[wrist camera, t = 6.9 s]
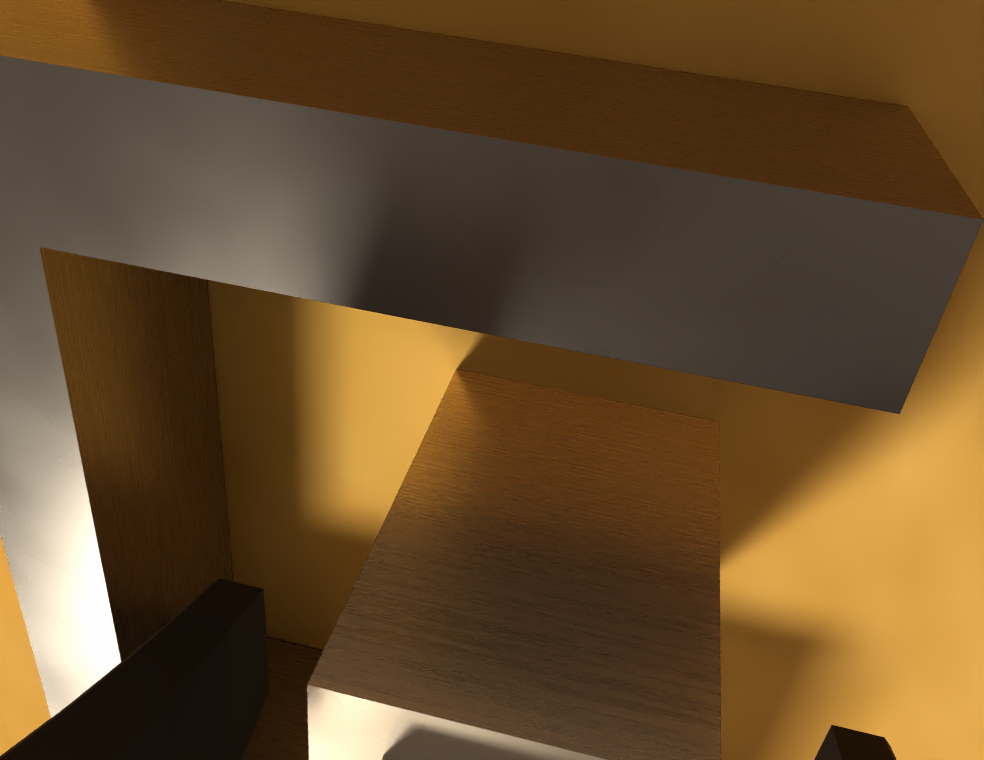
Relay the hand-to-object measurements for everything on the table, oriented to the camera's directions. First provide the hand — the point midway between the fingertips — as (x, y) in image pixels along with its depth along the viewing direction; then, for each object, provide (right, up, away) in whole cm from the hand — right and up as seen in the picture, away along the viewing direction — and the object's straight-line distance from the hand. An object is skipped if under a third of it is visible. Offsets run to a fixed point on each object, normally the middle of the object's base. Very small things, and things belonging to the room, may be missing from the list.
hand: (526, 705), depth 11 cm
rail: (-3, -1, +6) cm, 6 cm away
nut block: (+1, +2, +3) cm, 4 cm away
